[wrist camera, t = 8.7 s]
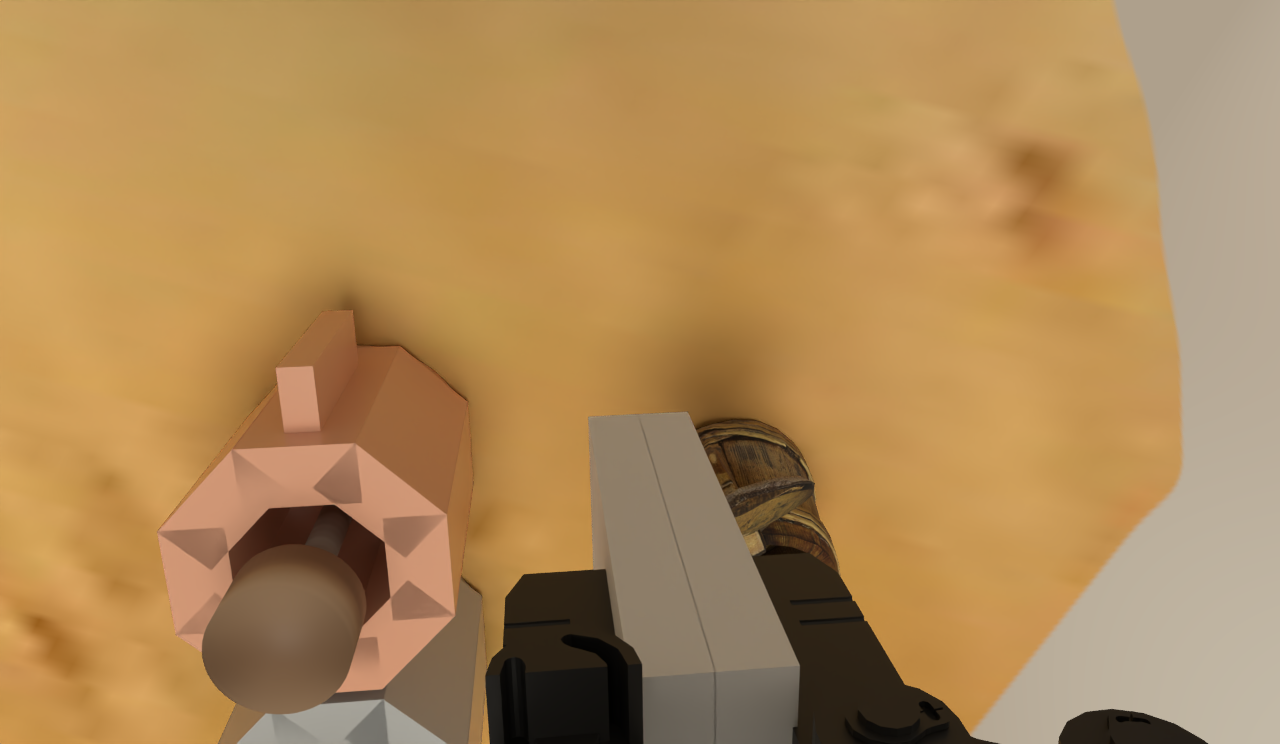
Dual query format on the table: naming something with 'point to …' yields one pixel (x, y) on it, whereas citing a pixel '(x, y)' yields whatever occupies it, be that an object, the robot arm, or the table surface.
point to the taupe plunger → (288, 623)
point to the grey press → (395, 698)
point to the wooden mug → (767, 489)
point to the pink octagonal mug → (338, 493)
